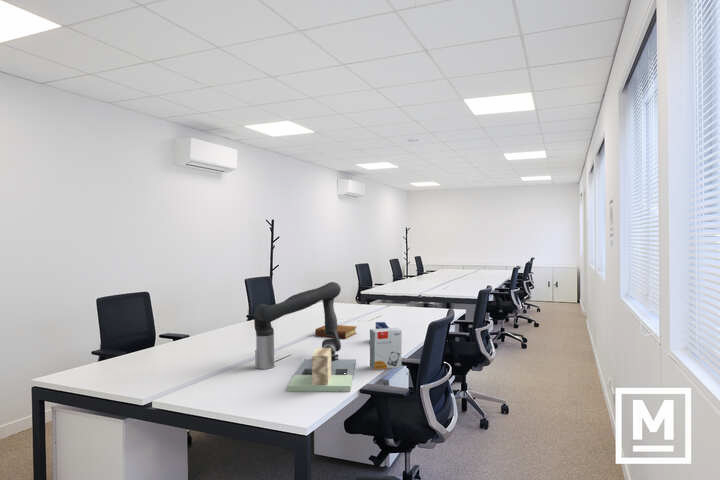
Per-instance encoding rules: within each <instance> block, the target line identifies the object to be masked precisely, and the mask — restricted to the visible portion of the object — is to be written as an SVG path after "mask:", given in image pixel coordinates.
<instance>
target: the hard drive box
mask: <svg viewBox="0 0 720 480" xmlns="http://www.w3.org/2000/svg"><path fill="white" fill-rule="evenodd" d="M402 333H403V332H402V329H400V328H398V327H389V328H382V329H376V328H371V329H369V367H370V368H371V367H372V368H373V369H374V371H375V370H376V371H377V370H378V369H382V370H389V369H401V368H402V350H403V349H402V348H403V347H402V344H403V343H402V340H403V339H402V335H403V334H402ZM372 368H371V369H372Z"/></svg>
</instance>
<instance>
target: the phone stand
mask: <svg viewBox="0 0 720 480" xmlns="http://www.w3.org/2000/svg"><path fill="white" fill-rule="evenodd" d="M382 328H390V327H389V326H388V325H387V323H386V322H385V321H376V322H375V329H382Z"/></svg>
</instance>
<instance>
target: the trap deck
mask: <svg viewBox="0 0 720 480" xmlns="http://www.w3.org/2000/svg"><path fill="white" fill-rule="evenodd" d="M356 365H357V359H356V358H355V359H353V358H351V359H348V358H347V359H346V358H345V359H342V358H340V359H339V358H338V360H336V361H332V362H331V377H330V380H329V383H328V385H312V358H311V359H310V358H309V359H308V358H307V359H306V358H305V359H304V360H303V361H302V362H301V365H300V366H299V367H298V369H297V371H296V373H295V374H294V376H293V377H292V379H291V380H290V381H289V384H288V385H287V392H317V391H342V392H343V393H344V392H345V393H346V392H351V391H352V386H353V382H352V381H353V380H354V377H353V376H355V372H354V371H355V370H356V367H355V366H356ZM344 373H346V374H344Z"/></svg>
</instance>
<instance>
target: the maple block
mask: <svg viewBox="0 0 720 480" xmlns="http://www.w3.org/2000/svg"><path fill="white" fill-rule="evenodd" d="M311 359H312V385H328V383H329V380H330V377H331V348H322V347H316V349H315V350H314V352H313V354H312V355H311Z"/></svg>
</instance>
